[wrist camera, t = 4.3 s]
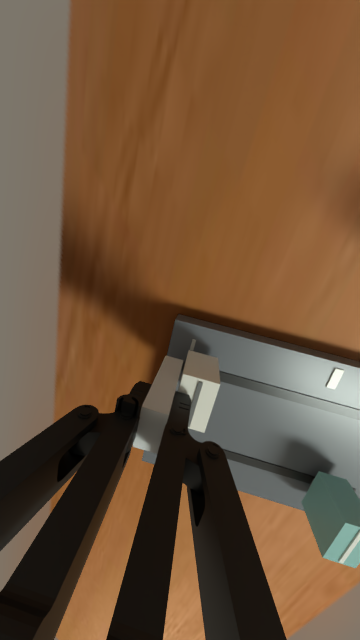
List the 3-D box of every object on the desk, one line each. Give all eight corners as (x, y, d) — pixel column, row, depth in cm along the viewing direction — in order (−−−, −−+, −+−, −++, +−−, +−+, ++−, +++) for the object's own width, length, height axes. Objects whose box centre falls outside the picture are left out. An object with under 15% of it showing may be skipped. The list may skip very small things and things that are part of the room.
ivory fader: (189, 347, 18) (182, 374, 14) (217, 355, 18) (220, 385, 14) (178, 387, 20) (169, 423, 15) (205, 395, 19) (204, 434, 15)
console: (178, 314, 20) (175, 319, 18) (421, 377, 19) (446, 391, 17) (147, 445, 25) (141, 461, 23) (341, 504, 23) (353, 527, 21)
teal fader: (315, 466, 20) (346, 524, 15) (343, 474, 20) (382, 535, 15) (299, 496, 21) (323, 559, 17) (325, 504, 21) (356, 570, 16)
